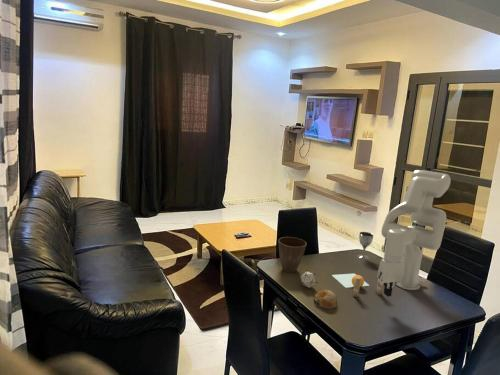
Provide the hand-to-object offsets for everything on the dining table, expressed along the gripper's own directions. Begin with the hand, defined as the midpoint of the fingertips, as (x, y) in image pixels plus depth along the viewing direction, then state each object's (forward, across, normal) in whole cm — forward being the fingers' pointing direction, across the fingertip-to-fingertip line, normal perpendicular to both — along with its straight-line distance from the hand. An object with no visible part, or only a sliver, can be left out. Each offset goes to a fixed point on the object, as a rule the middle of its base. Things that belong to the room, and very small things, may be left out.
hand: (387, 294), depth 166 cm
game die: (+6, +27, -24) cm, 37 cm away
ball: (+4, +1, -21) cm, 21 cm away
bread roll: (+6, +26, -8) cm, 28 cm away
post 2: (+7, -5, -12) cm, 15 cm away
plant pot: (+7, +28, -44) cm, 53 cm away
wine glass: (+9, -25, -54) cm, 60 cm away
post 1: (+7, +8, -12) cm, 16 cm away
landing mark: (+7, +1, -27) cm, 28 cm away
